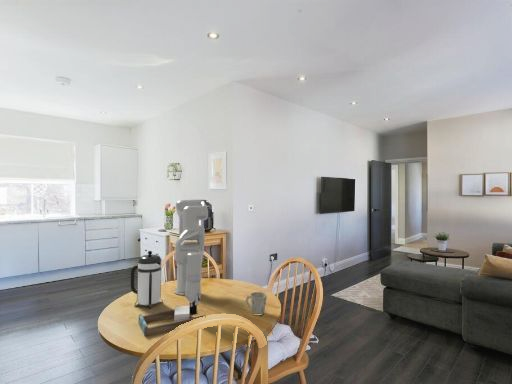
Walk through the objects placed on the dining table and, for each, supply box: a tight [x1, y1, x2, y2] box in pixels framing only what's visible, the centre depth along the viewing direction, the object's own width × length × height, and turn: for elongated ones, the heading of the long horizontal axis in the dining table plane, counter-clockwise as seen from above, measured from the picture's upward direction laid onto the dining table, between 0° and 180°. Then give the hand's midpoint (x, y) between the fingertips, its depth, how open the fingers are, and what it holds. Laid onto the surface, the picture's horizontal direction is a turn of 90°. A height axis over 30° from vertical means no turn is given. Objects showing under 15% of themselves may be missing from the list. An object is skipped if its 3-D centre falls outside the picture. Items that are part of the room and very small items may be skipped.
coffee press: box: [130, 250, 163, 310], centre depth 161 cm, size 17×16×30 cm
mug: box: [245, 291, 268, 314], centre depth 151 cm, size 8×13×10 cm, turn 58°
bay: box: [138, 306, 206, 337], centre depth 138 cm, size 15×28×4 cm, turn 122°
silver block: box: [173, 305, 190, 322], centre depth 141 cm, size 10×7×5 cm
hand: (193, 313), depth 144 cm, fingers closed
